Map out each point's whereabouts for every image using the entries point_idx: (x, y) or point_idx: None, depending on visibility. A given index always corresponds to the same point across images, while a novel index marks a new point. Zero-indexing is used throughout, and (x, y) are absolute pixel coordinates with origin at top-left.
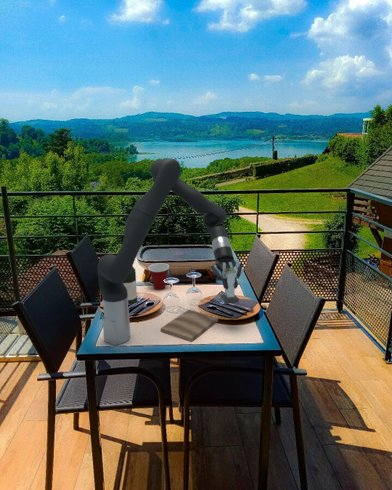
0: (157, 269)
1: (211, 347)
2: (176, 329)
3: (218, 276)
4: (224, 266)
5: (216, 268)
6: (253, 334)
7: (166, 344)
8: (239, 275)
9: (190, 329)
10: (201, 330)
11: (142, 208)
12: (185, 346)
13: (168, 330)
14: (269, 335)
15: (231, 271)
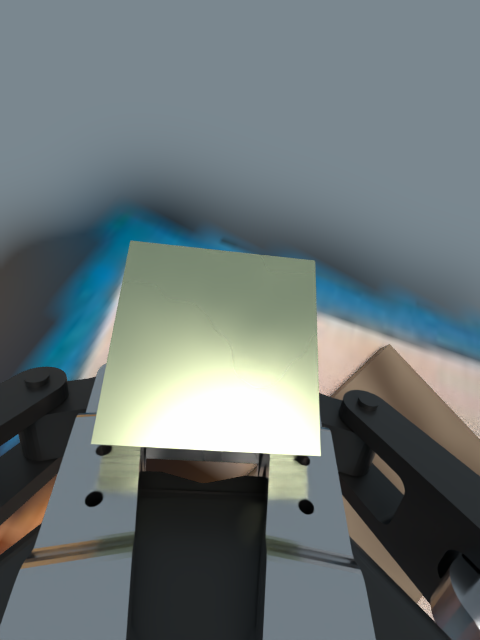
0: None
1: (321, 291)
2: (443, 435)
3: (385, 405)
4: (300, 549)
5: (471, 603)
6: None
7: (469, 362)
8: (43, 372)
9: None
10: (342, 390)
11: None
12: (406, 327)
13: (476, 438)
14: (80, 290)
15: (225, 255)
